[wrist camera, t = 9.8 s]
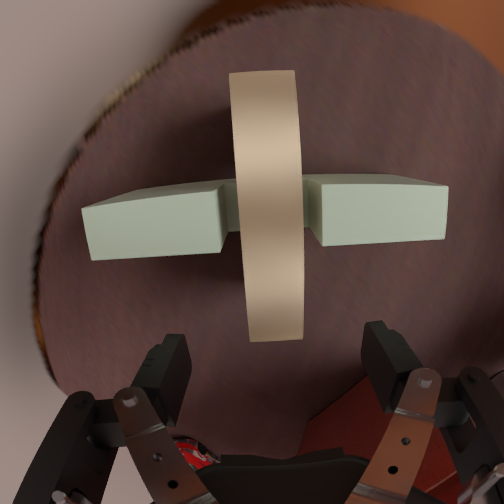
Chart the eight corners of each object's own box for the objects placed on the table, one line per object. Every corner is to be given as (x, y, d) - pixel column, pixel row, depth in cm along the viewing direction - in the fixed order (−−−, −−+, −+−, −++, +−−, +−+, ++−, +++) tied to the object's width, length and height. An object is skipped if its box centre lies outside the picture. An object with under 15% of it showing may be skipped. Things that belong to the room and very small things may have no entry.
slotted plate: (289, 280, 23) (302, 338, 15) (252, 283, 23) (249, 342, 16) (281, 102, 19) (294, 70, 11) (239, 104, 19) (229, 73, 11)
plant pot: (391, 318, 24) (479, 457, 8) (460, 378, 28) (515, 464, 12) (266, 425, 29) (268, 551, 13) (361, 456, 33) (382, 543, 17)
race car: (240, 471, 34) (239, 491, 31) (211, 475, 35) (209, 494, 31) (193, 432, 31) (188, 456, 27) (161, 436, 31) (155, 458, 28)
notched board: (389, 174, 20) (448, 186, 12) (389, 211, 21) (444, 239, 13) (136, 189, 21) (81, 208, 13) (142, 226, 22) (91, 260, 14)
